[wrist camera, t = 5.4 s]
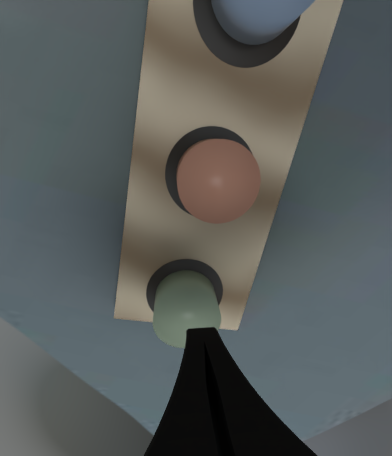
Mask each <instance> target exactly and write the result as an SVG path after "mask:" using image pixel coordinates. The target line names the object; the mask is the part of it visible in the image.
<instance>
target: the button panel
mask: <svg viewBox="0 0 392 456" xmlns="http://www.w3.org/2000/svg"><path fill="white" fill-rule="evenodd" d="M342 3H343V0H315V1H314V2H313V3H312V4H311V6H310V7H308V8H307V9H306V10H305V11H304V12H303V13H302V14H301V15H300V16H299V17H298V18H297V19H296V20H295V21H294V22H293V23H292V24H291V25H289V26H288V27H287V28H286V29H285V30H284V31H283V32H282V33H281V34H280V35H279V36H277V37H276V38H274V39H273V40H271V41H269V42H267V43H263V44H259V45H248V44H244V43H241V42H238V41H237V40H235V39H233V38H232V37H231V36H229V35H228V34H227V33H226V32H225V31H224V29H223V28H222V27H221V25H220V24H219V22H218V20H217V18H216V16H215V13H214V10H213V7H212V3H211V0H149V3H148V12H147V22H146V31H145V40H144V49H143V58H142V67H141V76H140V85H139V94H138V103H137V113H136V122H135V131H134V140H133V149H132V158H131V167H130V176H129V185H128V194H127V204H126V213H125V222H124V231H123V240H122V249H121V258H120V267H119V276H118V285H117V295H116V304H115V313H114V318H115V319H125V320H136V321H146V322H153V314H154V304H155V295H156V290H157V287H158V285H159V284H160V282H161V281H162V280H163V279H164V278H165V277H167V276H168V275H170V274H172V273H174V272H177V271H182V270H190V271H195V272H199V273H201V274H203V275H204V276H206V277H207V278H208V279H209V280H210V282H211V283H212V285H213V287H214V291H215V295H216V298H217V302H218V306H219V309H220V313H221V324H220V327H219V329H229V330H238V328H239V324H240V321H241V318H242V315H243V312H244V309H245V306H246V303H247V299H248V296H249V293H250V290H251V287H252V284H253V281H254V278H255V275H256V271H257V268H258V265H259V262H260V259H261V256H262V253H263V250H264V246H265V243H266V240H267V237H268V234H269V231H270V228H271V225H272V222H273V218H274V215H275V212H276V209H277V206H278V203H279V200H280V197H281V193H282V190H283V187H284V184H285V181H286V178H287V175H288V172H289V169H290V165H291V162H292V159H293V156H294V153H295V150H296V147H297V144H298V140H299V137H300V134H301V131H302V128H303V125H304V122H305V119H306V116H307V112H308V109H309V106H310V103H311V100H312V97H313V94H314V91H315V87H316V84H317V81H318V78H319V75H320V72H321V69H322V66H323V62H324V59H325V56H326V53H327V50H328V47H329V44H330V41H331V38H332V34H333V31H334V28H335V25H336V22H337V19H338V16H339V13H340V9H341V6H342ZM205 139H227V140H232V141H235V142H237V143H239V144H241V145H243V146H244V147H246V148H247V149H248V150H249V151H250V152H251V153H252V155H253V156H254V158H255V159H256V161H257V163H258V166H259V169H260V175H261V182H260V189H259V193H258V195H257V198H256V200H255V202H254V203H253V205H252V206H251V207H250V208H249V210H248V211H247V212H246V213H244V214H243V215H242V216H240V217H239V218H237V219H235V220H233V221H230V222H226V223H219V224H214V223H208V222H204V221H201V220H199V219H197V218H196V217H194V216H193V215H191V214H190V213H189V212H188V211H187V209H186V208H185V207H184V205H183V204H182V202H181V200H180V197H179V194H178V188H177V179H176V173H177V167H178V163H179V161H180V159H181V157H182V155H183V154H184V152H185V151H186V150H187V149H188V148H189V147H190V146H192V145H193V144H195V143H197V142H199V141H201V140H205Z"/></svg>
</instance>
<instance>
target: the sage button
mask: <svg viewBox="0 0 392 456" xmlns="http://www.w3.org/2000/svg"><path fill="white" fill-rule="evenodd" d="M220 324H221V313H220V309H219V306H218V302H217V298H216V295H215V291H214V287H213V285H212V283H211V282H210V280H209V279H208V278H207V277H206V276H204V275H203V274H201V273H199V272H195V271H190V270H182V271H177V272H174V273H172V274H170V275H168V276H167V277H165V278H164V279H163V280H162V281H161V282H160V284H159V285H158V287H157V290H156V295H155V304H154V314H153V328H154V331H155V333H156V335H157V336H158V337H159V339H161V340H162V341H163V342H164V343H166V344H168V345H170V346H173V347H177V348H185V344H186V330H188V329H190V328H206V327H215V328H216V329H217V331H218V330H219V327H220Z"/></svg>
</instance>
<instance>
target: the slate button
mask: <svg viewBox="0 0 392 456" xmlns="http://www.w3.org/2000/svg"><path fill="white" fill-rule="evenodd" d="M314 1H315V0H211V3H212V7H213V10H214V13H215V16H216V18H217V20H218V22H219V24H220V25H221V27H222V28H223V29H224V31H225V32H226V33H227V34H228V35H229V36H231V37H232V38H233V39H235V40H237V41H238V42H241V43H244V44H248V45H259V44H263V43H267V42H269V41H271V40H273V39H274V38H276V37H277V36H279V35H280V34H281V33H282V32H283V31H284V30H285V29H286V28H287V27H288V26H289V25H291V24H292V23H293V22H294V21H295V20H296V19H297V18H298V17H299V16H300V15H301V14H302V13H303V12H304V11H305V10H306V9H307V8H308V7H310V6H311V4H312V3H313V2H314Z"/></svg>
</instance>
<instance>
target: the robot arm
mask: <svg viewBox="0 0 392 456" xmlns="http://www.w3.org/2000/svg"><path fill="white" fill-rule="evenodd" d="M144 456H317V455H316V454H315V453H314V452H313V451H312V450H311V449H310V448H309V447H308V446H307V445H305V444H304V443H303V442H302V441H301V440H300V439H299V438H298V437H297V436H296V435H295V434H294V433H293V432H292V431H291V430H290V429H289V428H288V427H287V426H286V425H285V424H284V423H283V422H282V421H281V420H280V419H279V417H278V416H277V415H276V414H275V413H274V412H273V411H272V410H271V409H270V407H269V406H268V405H267V404H266V403H265V402H264V400H263V399H262V398H261V397H260V396H259V394H258V393H257V392H256V391H255V389H254V388H253V387H252V386H251V384H250V383H249V382H248V380H247V379H246V377H245V376H244V375H243V373H242V372H241V370H240V369H239V367H238V366H237V364H236V363H235V361H234V360H233V358H232V357H231V355H230V353H229V352H228V350H227V348H226V347H225V345H224V343H223V341H222V339H221V337H220V336H219V333H218V331H217V329H216V328H215V327H206V328H190V329H188V330H186V344H185V349H184V354H183V358H182V362H181V366H180V370H179V373H178V376H177V380H176V383H175V386H174V389H173V392H172V394H171V397H170V400H169V402H168V405H167V407H166V410H165V412H164V414H163V417H162V419H161V421H160V424H159V426H158V428H157V430H156V432H155V435H154V437H153V439H152V441H151V443H150V445H149V447H148V448H147V450H146V452H145V454H144Z"/></svg>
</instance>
